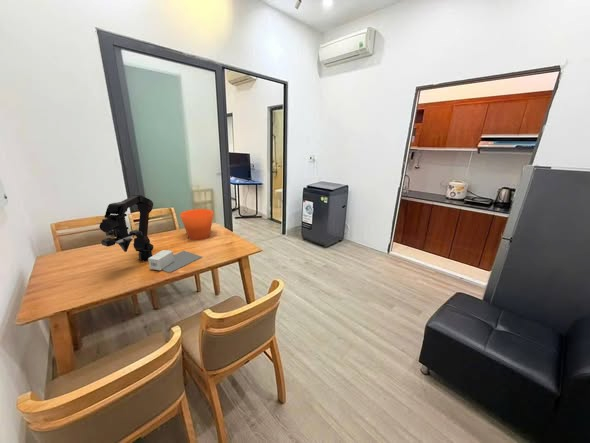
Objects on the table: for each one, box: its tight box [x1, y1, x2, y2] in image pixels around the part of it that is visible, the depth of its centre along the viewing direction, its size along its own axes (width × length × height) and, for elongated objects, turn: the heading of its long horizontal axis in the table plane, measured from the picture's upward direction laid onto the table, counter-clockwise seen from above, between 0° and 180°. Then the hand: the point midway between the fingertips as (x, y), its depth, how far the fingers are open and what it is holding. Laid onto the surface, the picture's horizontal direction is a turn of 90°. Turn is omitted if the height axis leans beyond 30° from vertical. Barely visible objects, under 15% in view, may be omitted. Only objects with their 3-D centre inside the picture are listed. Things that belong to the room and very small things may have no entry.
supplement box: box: [147, 249, 175, 271], centre depth 147 cm, size 7×7×13 cm
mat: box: [161, 250, 203, 274], centre depth 154 cm, size 24×18×1 cm
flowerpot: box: [179, 208, 215, 241], centre depth 192 cm, size 25×25×20 cm
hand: (125, 251), depth 137 cm, fingers closed
